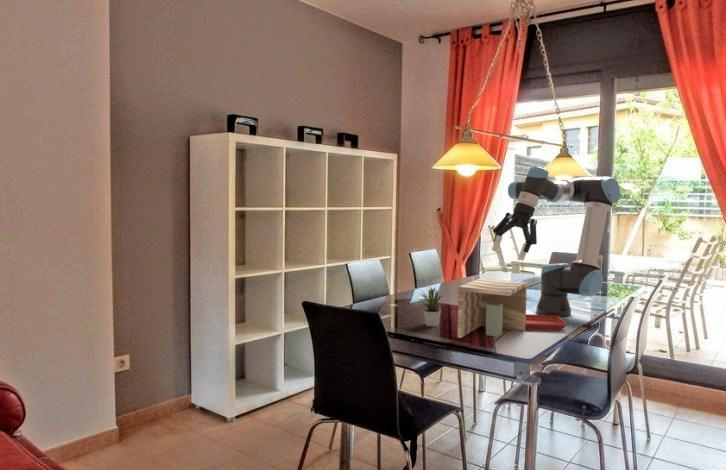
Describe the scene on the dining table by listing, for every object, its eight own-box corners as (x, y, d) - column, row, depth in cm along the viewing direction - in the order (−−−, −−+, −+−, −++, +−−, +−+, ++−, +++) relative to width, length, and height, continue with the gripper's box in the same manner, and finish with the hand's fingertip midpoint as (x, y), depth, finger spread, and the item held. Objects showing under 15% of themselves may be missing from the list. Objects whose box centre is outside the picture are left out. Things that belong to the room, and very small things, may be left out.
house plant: (411, 320, 232) (411, 283, 231) (442, 320, 233) (443, 283, 232) (416, 328, 218) (417, 289, 217) (450, 328, 219) (450, 288, 218)
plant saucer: (514, 320, 234) (514, 313, 234) (557, 322, 232) (557, 314, 231) (520, 331, 217) (520, 322, 216) (566, 332, 214) (567, 324, 214)
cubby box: (478, 324, 226) (479, 278, 224) (525, 330, 216) (526, 282, 214) (457, 337, 205) (458, 286, 203) (508, 344, 195) (509, 291, 193)
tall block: (489, 332, 213) (490, 302, 212) (502, 333, 210) (502, 303, 210) (485, 334, 209) (486, 304, 208) (498, 336, 206) (499, 305, 205)
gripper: (496, 196, 219) (478, 245, 220) (547, 207, 199) (526, 261, 200) (507, 202, 224) (489, 250, 224) (557, 213, 204) (538, 265, 204)
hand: (507, 255), depth 212 cm, fingers open, 13 cm apart
